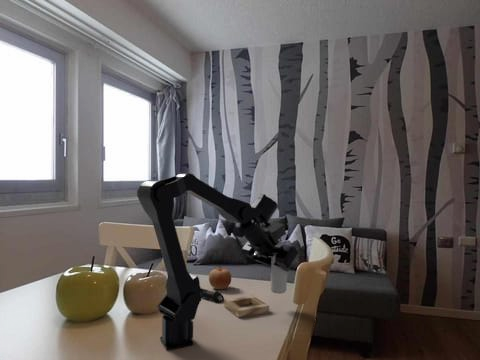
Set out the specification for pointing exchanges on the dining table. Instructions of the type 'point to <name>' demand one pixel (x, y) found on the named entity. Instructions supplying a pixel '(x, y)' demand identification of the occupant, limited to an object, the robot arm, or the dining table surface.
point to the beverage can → (278, 278)
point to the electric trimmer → (212, 295)
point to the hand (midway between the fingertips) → (282, 268)
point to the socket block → (246, 306)
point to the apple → (220, 278)
